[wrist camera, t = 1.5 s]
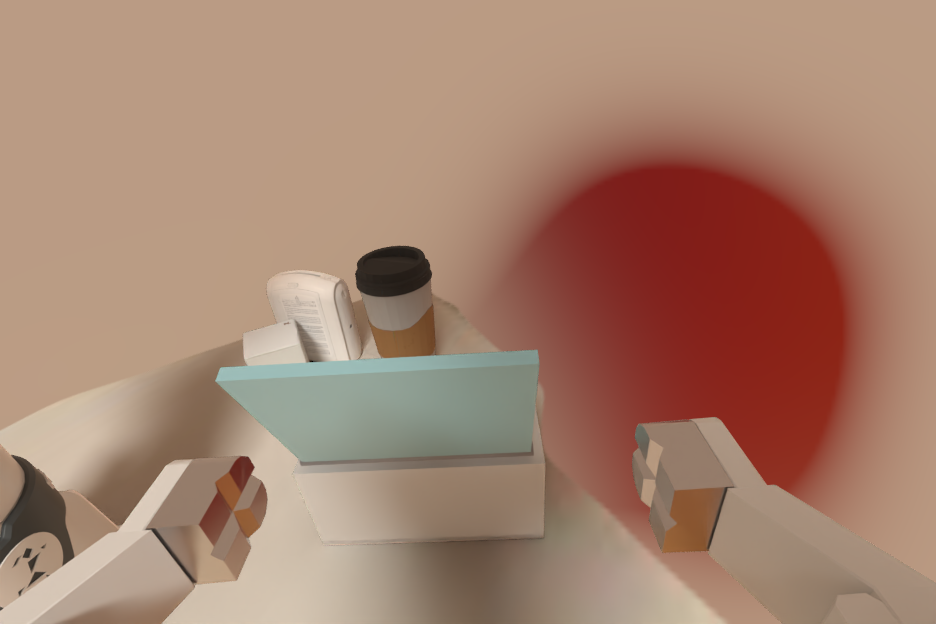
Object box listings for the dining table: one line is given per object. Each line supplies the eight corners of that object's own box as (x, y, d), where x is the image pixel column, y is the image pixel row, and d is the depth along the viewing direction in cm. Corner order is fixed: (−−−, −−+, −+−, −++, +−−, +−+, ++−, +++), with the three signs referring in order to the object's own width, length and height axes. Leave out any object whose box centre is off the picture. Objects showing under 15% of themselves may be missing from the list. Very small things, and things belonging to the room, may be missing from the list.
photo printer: (368, 348, 60) (348, 265, 53) (353, 368, 56) (330, 282, 50) (302, 341, 62) (275, 262, 56) (284, 360, 59) (253, 278, 52)
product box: (261, 379, 56) (241, 331, 52) (310, 364, 57) (294, 317, 54) (264, 409, 51) (242, 359, 47) (317, 391, 53) (301, 342, 49)
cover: (306, 454, 32) (303, 467, 31) (217, 366, 22) (210, 383, 22) (531, 443, 31) (533, 457, 31) (541, 347, 21) (543, 365, 21)
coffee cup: (398, 343, 60) (378, 241, 52) (454, 354, 57) (442, 247, 49) (364, 382, 53) (335, 272, 45) (425, 396, 50) (406, 281, 42)
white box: (323, 545, 36) (292, 474, 31) (357, 432, 46) (337, 366, 42) (543, 538, 35) (545, 463, 30) (527, 424, 45) (527, 355, 41)
